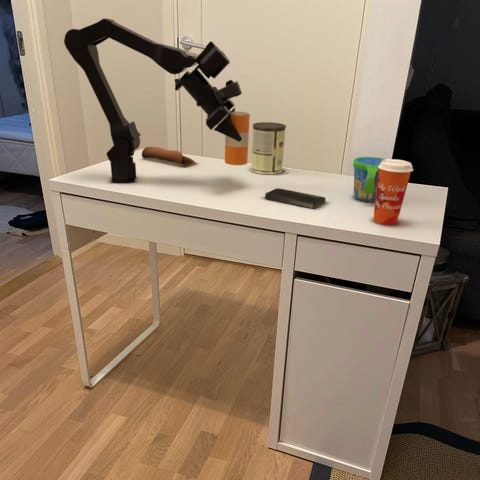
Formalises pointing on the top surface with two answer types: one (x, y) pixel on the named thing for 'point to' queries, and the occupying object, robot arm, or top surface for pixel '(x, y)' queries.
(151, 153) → the brown elongated rounded bar
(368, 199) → the snack cup
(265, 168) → the coffee can
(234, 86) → the robot arm
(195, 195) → the top surface
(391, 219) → the paper cup
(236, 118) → the juice can
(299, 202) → the phone
